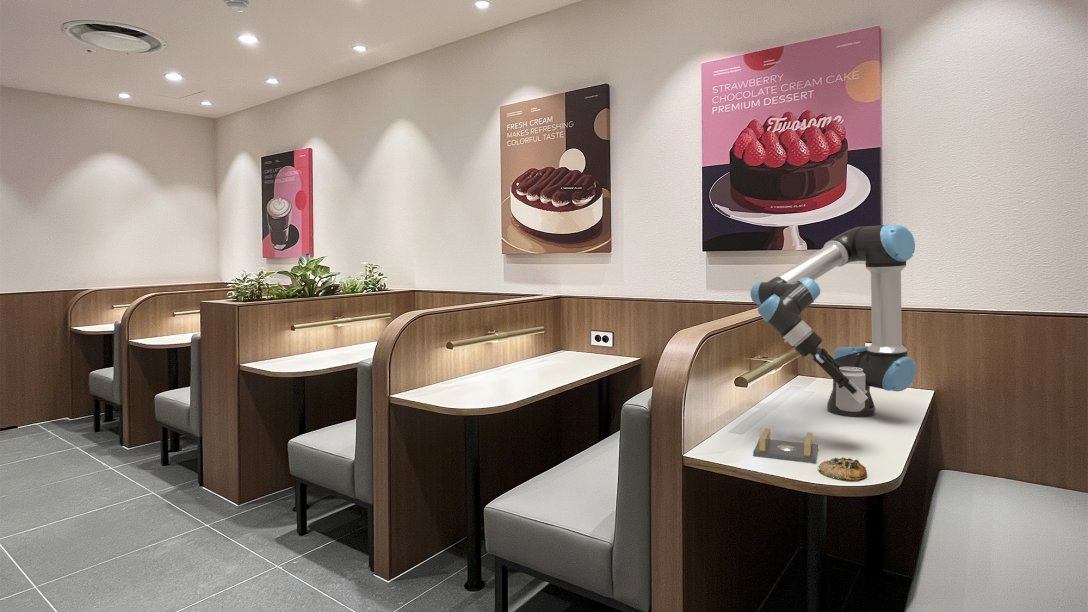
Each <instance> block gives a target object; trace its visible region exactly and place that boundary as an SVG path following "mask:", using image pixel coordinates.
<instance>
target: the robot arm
mask: <svg viewBox="0 0 1088 612" xmlns="http://www.w3.org/2000/svg"><path fill="white" fill-rule="evenodd" d="M915 251H916V242H915V238H914V235H913V233H912V232H911V231H910V230H909V229H908V228H907V227H906V226H904V225H902V224H889V223H888V224H882V225H863V226H856V227H853V228H852V229H848V230H845V231H844V232H843V233H840V234H838V235H836V236H835V237H833V238H831V239H830V240H828V241H826V242H825V243H824V245H823V247H821V249H819V250H818V251H816V252H814V253H813V254H810V255H809V256H807V257H806V258H805V259H803V260H801V261H800V262H797V263H796V264H795V265H793V266H791V267H790V268H788V269H787V270H785V271H783V272H782V273H780V274H778V275H777V276H775V277H773V278H772V279H770V280H768V281H766V282H765V281H761V282H756V283H754V284H753V285H752V287H751V288H750V299H751V301H752V302H753V303H754V304H756V305H758V306H759V307H757V313H758V314H759V316H760V317H761V318H763V320H764V321H765V322H766V323H767V324H768V325H769V326H770V327H772V329H774V330H775V332H776V333H777V334H778V335H780V336H781V337H782V338H783V339H784V341H783V342H784V343H785V344H787V343H788V344H789V345H790V346H791V347H794V350H795V351H796V352H797V353H798V354H799V355H800V356H801V357H803V358H805V357H807V356H808V355H809V354H810V355H811V356H812V360H813V361H814V362H815V363H816V364H818V365H819V366H820V367H821V368H822V369H823V370H824V371H825V372H826V373H827V375H829V377H831V378H832V390H831V392H830V395H829V398H828V401H827V404H826V405H827V406H826V410H827V411H828V412H829V413H832V414H836V415H841V416H847V417H864V418H865V417H871V416H874V415H875V414H876V405H875V404H874V400H873V397H872V394H871V390H870V389H871V387H872V388H876V389H881V390H885V391H888V392H891V391H892V392H903V391H904V390H907V389H908V388H909V387H910V386H911V384H912V383H913V382H914V380H915V378H916V373H917V365H916V362H915V360H914V359H913V358H911V357H909V356H908V349H907V347H905V346H904V345H903V340H902V339H903V338H902V337H903V336H902V335H903V334H902V333H903V331H902V329H903V327H902V323H903V322H902V271H903V270H904V269H905V268H906V267H907V261H909V260H910V259H912V258H913V256H914V253H915ZM853 262H854V263H855V262H865V269H867V271H869V272H870V293H871V294H870V297H871V298H870V299H871V300H870V301H871V305H870V306H871V345H869V346H866V345H864V346H857V345H856V346H843V347H841V346H840V347H837V348H835V349H834V350H833V356H832V355H830V354H829V353H828V351H827V350H826V349H825V348H824V347H823V348H821V347H819V346H820V344H822V342H823V338H822V337H821V336H820V335H819V334H817V333H816V332H815V331H812V330H813V329H812V328H811V326H809V325H808V324H807V323H806V322H805V321H804V320H803V319H802V318H801V317H800V316H799V315H801V313H802V312H804V311H805V309H807V308H808V307H809V306H810V305H811V304H813V303H814V302H815V300H816V299H818V297H819V296H820V294H821V288H820V286H819V284H818V283H817V282H816V281H815V280H817V279H819V278H820V277H822V276H823V275H825V274H827V273H828V272H830V271H831V270H833V269H834V268H836V267H843V266H845V265H847V264H849V263H853ZM840 367H857V368H862V369H863V372H864V374H865V394H864V393H863V392H862V391H861V390H860V389H859V388H858V387H857V386H856V385H855V384H853V383H852V382H851V381H849V379H847V378H846V377H845V376H844V375H843V374H842V372H841V371H840V370H839V368H840ZM836 382H837V383H838V385H839V386H838V387H839V388H842V387H843V388H844V389H845V390H846V391H847V392H848V393H849V394H850V395H851V396H852V397H853V398H854V399H855V400H856V401H857V402H858V403H859V404H861V403H863V402H864V401H865V408H863V409H862V410H861V411H857V412H851V411H844V410H840V409H839V408H838V407H837V406H836Z"/></svg>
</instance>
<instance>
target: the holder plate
mask: <svg viewBox="0 0 1088 612" xmlns="http://www.w3.org/2000/svg"><path fill="white" fill-rule="evenodd" d="M813 435H814V434H813V432H808V431H807V432H806V435H805V439H804V442H799V441H789V440H780V439H779V440H778V439H771V428H767V427H764V429H763V431H762V433H761V435H760V437H759V440H758V441H757V443H756V445H755V447H754V450H753V452H752V453H753V455H752V456H753V457H761V458H766V457H767V458H769V459H775V458H777V459H776V460H783V459H784V461H791V460H794V462H800V461H803V462H802V463H808V462H813V463H812V464H817V459H818V454H817V453H819V444H818V443H817V444H816V443H814V441H813V440H814V436H813ZM767 458H766V459H767Z"/></svg>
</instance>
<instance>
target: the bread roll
mask: <svg viewBox="0 0 1088 612" xmlns="http://www.w3.org/2000/svg"><path fill="white" fill-rule="evenodd" d="M817 468H818V469H820V471H821V473H820V474H821V475H823V474H824V476H826V475H827V476H826V477H828V476H830V477H829V478H831V477H834V478H833V479H835V478H839V479H838V480H845V479H846V481H848V480H850V481H851V480H859V479H862V480H864V479H866V478H867V477H868V472H867V467H865V465H863V464H862V463H860V461H859V460H858V459H855V460H854V459H853V458H851V457H848V458H846V457H844V456H843V457H840V458H838V457H835V458H831V459H830V460H824V461H823V462H821V463H820V464H819V465H817ZM820 471H819V472H820ZM863 478H864V479H863ZM859 481H860V480H859Z"/></svg>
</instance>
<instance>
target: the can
mask: <svg viewBox="0 0 1088 612" xmlns="http://www.w3.org/2000/svg"><path fill="white" fill-rule="evenodd" d="M839 370H840V371H841V372H842V374H843V375H844V376H845V377H846V378H847V379H849V381H851V382H852V383H853V384H855V385H856V386H857V387H858V388H859V389H860V390H861V391H862V392H863V393H864V394H865V374H864V372H863V369H862V368H857V367H840V368H839ZM838 386H839V385H838V383H837V382H836V406H837V407H838V408H839V409H840V410H844V411H851V412H857V411H861V410H862V409H863V408H865V401H864V402H863V403H861V404H859V403H858V402H857V401H856V400H855V399H854V398H853V397H852V396H851V395H850V394H849V393H848V392H847V391H846V390H845V389H844V388H843V387H842V388H839V387H838Z"/></svg>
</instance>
